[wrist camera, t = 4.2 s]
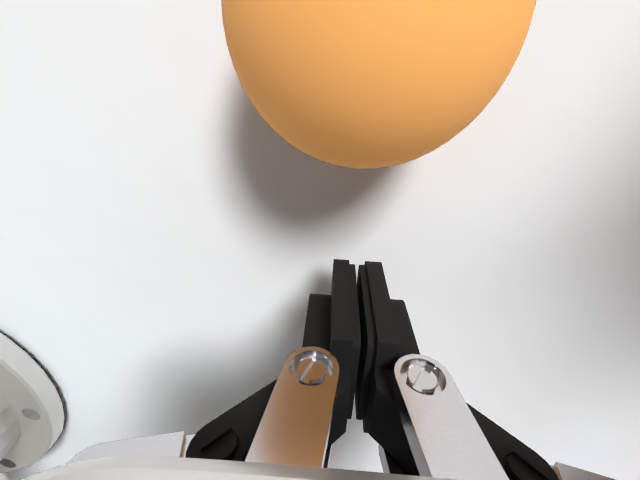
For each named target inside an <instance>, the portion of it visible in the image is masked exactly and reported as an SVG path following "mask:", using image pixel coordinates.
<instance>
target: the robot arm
mask: <svg viewBox="0 0 640 480" xmlns="http://www.w3.org/2000/svg"><path fill="white" fill-rule="evenodd" d="M354 393H355V406H356V419H358V420H363V430H364V432H365V433H369V435H370V436H371V437H372V438H373V439H374V440H376V441H377V442H378V443H379V446H378V448H379V456H380V460H381V464H382V468H383V472H384V473H378V472H366V471H354V470H342V469H331V468H329V462H330V456H331V449H332V444H333V443H334V442H335V441H336V440H337V439H338V438H339V437H340V436H341V435H343V434H344V433H345V432H346V424H347V419H351V416H352V408H353V401H354ZM63 425H64V411H63V405H62V401H61V399H60V397H59V394H58V392H57V390H56V388H55V386H54V384H53V383H52V382H51V380H50V379H49V377H48V376H47V374H46V373H45V372H44V370H43V369H42V368H41V367H40V366H39V365H38V364H37V363H36V362H35V361H34V360H33V359H32V358H31V357H30V356H29V355H28V354H27V353H26V352H25V351H24V350H23V349H21V348H20V347H19V346H18V345H16V344H15V343H14V342H13V341H11V340H10V339H9V338H8V337H6V336H5V335H3V334H2V333H0V473H3V472H10V471H15V470H18V469H21V468H25V467H28V466H30V465H32V464H34V463H35V462H37V461H39V460H40V459H41V458H42V457H43V456H44V455H45V454H46V453H47V451H48V450H49V449H50V448H51V447H52V445H53V444H54V443H55V442H56V441H57V439H58V437H59V436H60V434H61V432H62V430H63ZM20 480H615V479H612V478H609V477H605V476H602V475H599V474H595V473H592V472H589V471H585V470H582V469H579V468H575V467H572V466H568V465H565V464H562V463H558V462H556V463H555V464H554V466H551V465H549V464H548V463H547V462H546V461H545V460H544V459H543V458H542V457H541V456H539V455H538V454H537V453H536V452H535V451H533V450H532V449H530V448H529V447H528V446H526V445H525V444H523V443H522V442H521V441H519V440H518V439H516V438H515V437H514V436H512V435H511V434H509V433H508V432H507V431H505V430H504V429H502V428H501V427H500V426H498V425H497V424H495V423H494V422H493V421H491V420H490V419H488V418H487V417H485V416H484V415H483V414H481V413H480V412H478V411H477V410H476V409H474V408H473V407H471V406H470V405H469V404H467V403H466V402H465V400H464V398H463V397H462V395H461V393H460V391H459V389H458V388H457V386H456V384H455V382H454V381H453V379H452V377H451V375H450V374H449V372H448V371H447V370H446V368H445V367H444V366H443V365H441V364H440V363H439V362H438V361H436V360H434V359H432V358H430V357H427V356H424V355H420V353H419V349H418V346H417V343H416V339H415V336H414V333H413V329H412V326H411V323H410V319H409V316H408V313H407V309H406V306H405V303H404V301H403V300H393V299H390V297H389V293H388V288H387V284H386V280H385V276H384V272H383V267H382V263H381V262H369V261H365V265H359V269H358V278H357V284H356V273H355V265H354V264H349V260H338V259H334V263H333V277H332V290H331V295H321V294H310V296H309V303H308V310H307V317H306V324H305V331H304V339H303V346H302V348H299V349H297V350H295V351H293V352H292V353H291V354H289V355H288V357H287V358H286V360H285V361H284V364H283V366H282V369H281V371H280V374H279V376H278V379H276V380H275V381H273V382H272V383H270V384H269V385H267V386H266V387H264V388H262V389H261V390H259V391H258V392H256V393H255V394H253V395H252V396H250V397H248V398H247V399H245V400H244V401H242V402H241V403H239V404H238V405H236V406H234V407H233V408H231V409H230V410H228V411H227V412H225V413H224V414H222V415H221V416H219V417H217V418H216V419H214V420H213V421H211V422H210V423H208V424H207V425H205V426H204V427H203V428H202V429H200V430H199V431H198V432H197V433H196V434H191V435H185V432H184V431H180V432H173V433H166V434H159V435H153V436H146V437H139V438H132V439H125V440H119V441H112V442H105V443H100V444H97V445H93V446H90V447H88V448H86V449H84V450H83V451H81V452H79V453H78V454H76V455H75V456H74V457H73V458H72V459H71V460H70V461H69V462H67V463H66V464H65V465H63V466H59V467H55V468H52V469H49V470H45V471H42V472H39V473H36V474H33V475H30V476H28V477H25V478H23V479H20Z"/></svg>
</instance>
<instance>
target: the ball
mask: <svg viewBox="0 0 640 480" xmlns="http://www.w3.org/2000/svg"><path fill="white" fill-rule="evenodd" d="M221 3H222V16H223V25H224V30H225V36H226V41H227V46H228V49H229V53H230V56H231V59H232V63H233V66H234V68H235V71H236V73H237V76H238V78H239V80H240V83H241V85H242V87H243V89H244V90H245V92H246V94H247V96H248V98H249V99H250V101H251V103H252V104H253V106H254V107H255V108H256V110H257V111H258V113H259V114H260V115H261V117H262V118H263V119H264V120H265V121H266V122H267V124H268V125H269V126H270V127H271V128H272V129H273V130H274V131H275V132H276V133H277V134H278V135H280V136H281V137H282V138H283V139H284V140H285V141H287V142H288V143H289V144H291V145H292V146H294V147H295V148H297V149H298V150H300V151H301V152H303V153H305V154H307V155H309V156H311V157H313V158H315V159H318V160H320V161H323V162H326V163H329V164H333V165H337V166H342V167H348V168H360V169H372V168H384V167H389V166H394V165H398V164H402V163H405V162H408V161H411V160H414V159H417V158H419V157H421V156H423V155H425V154H427V153H429V152H431V151H433V150H435V149H437V148H438V147H440V146H441V145H443V144H444V143H446V142H448V141H449V140H450V139H452V138H453V137H454V136H455V135H457V134H458V133H459V132H460V131H462V130H463V129H464V128H465V127H467V126H468V125H469V124H470V123H471V122H472V121H473V120H474V119H475V118H476V117H477V116H478V115H479V114H480V113H481V112H482V111H483V109H484V108H485V107H486V106H487V104H488V103H489V102H490V101H491V99H492V98H493V97H494V96H495V95H496V93H497V92H498V90H499V88H500V87H501V85H502V84H503V82H504V81H505V79H506V78H507V76H508V75H509V73H510V71H511V69H512V67H513V65H514V63H515V61H516V59H517V57H518V55H519V53H520V50H521V48H522V45H523V43H524V40H525V38H526V35H527V32H528V29H529V26H530V22H531V19H532V15H533V11H534V8H535V4H536V0H221Z"/></svg>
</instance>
